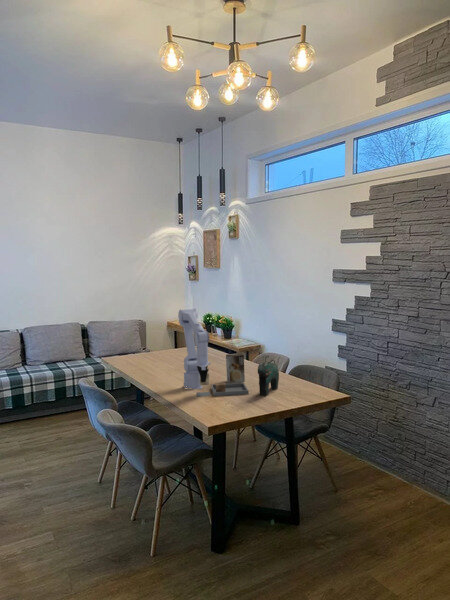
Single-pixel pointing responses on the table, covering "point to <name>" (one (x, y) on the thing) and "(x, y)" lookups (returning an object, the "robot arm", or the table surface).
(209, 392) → the slate coaster
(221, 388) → the walnut box
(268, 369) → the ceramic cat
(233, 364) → the coffee box
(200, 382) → the birch box
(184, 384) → the robot arm
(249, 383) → the table surface
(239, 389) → the bin
